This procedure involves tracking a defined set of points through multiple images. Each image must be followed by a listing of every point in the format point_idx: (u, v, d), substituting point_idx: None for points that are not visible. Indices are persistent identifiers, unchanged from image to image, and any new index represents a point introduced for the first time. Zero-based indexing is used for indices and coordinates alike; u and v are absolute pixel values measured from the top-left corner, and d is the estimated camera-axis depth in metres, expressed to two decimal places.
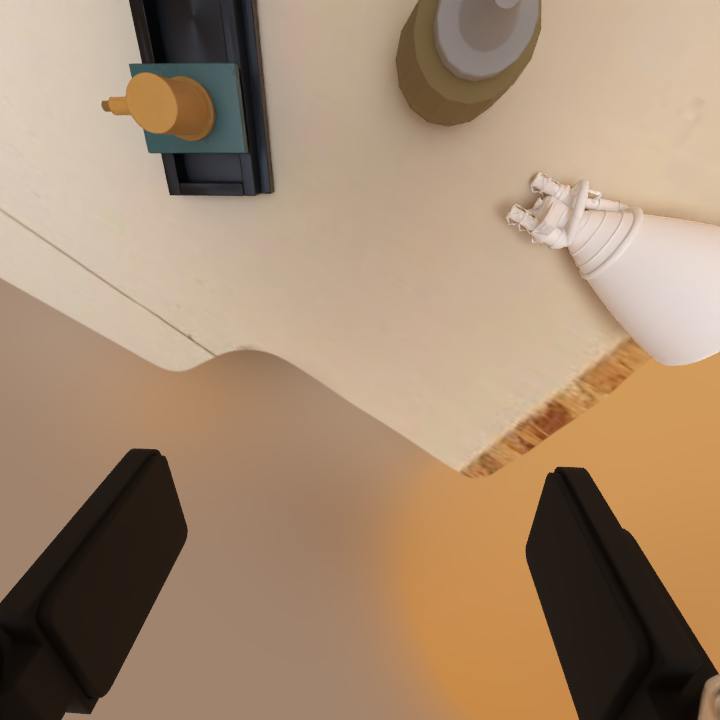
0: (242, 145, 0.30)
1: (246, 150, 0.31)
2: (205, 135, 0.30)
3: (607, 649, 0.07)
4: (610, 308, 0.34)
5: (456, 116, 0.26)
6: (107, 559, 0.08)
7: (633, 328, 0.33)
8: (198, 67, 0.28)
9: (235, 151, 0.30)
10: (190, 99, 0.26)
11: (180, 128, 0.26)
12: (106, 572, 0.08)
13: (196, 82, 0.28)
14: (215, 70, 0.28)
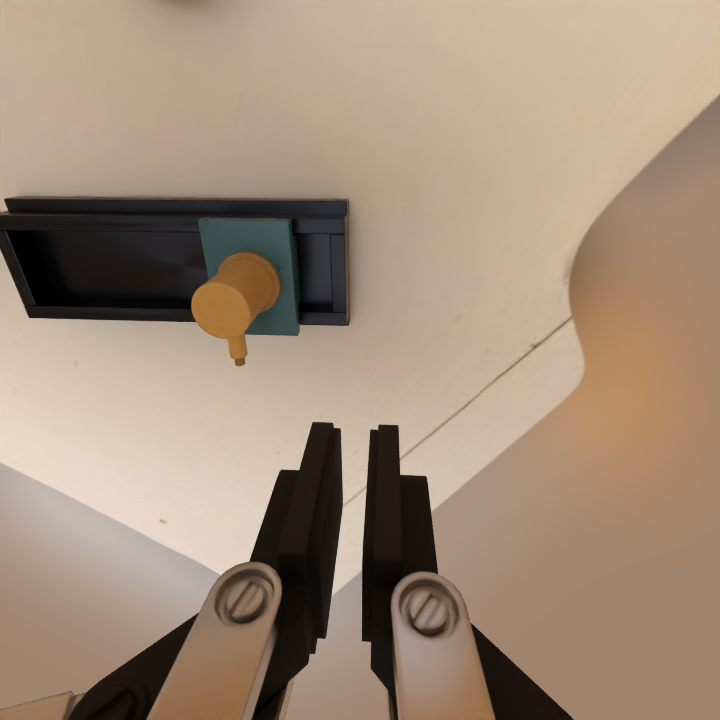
0: (280, 222, 0.24)
1: (286, 219, 0.24)
2: (271, 266, 0.25)
3: None
4: None
5: None
6: (328, 515, 0.09)
7: None
8: (208, 262, 0.26)
9: (287, 233, 0.24)
10: (223, 271, 0.23)
11: (248, 287, 0.22)
12: (328, 527, 0.08)
13: (220, 266, 0.25)
14: (208, 243, 0.25)
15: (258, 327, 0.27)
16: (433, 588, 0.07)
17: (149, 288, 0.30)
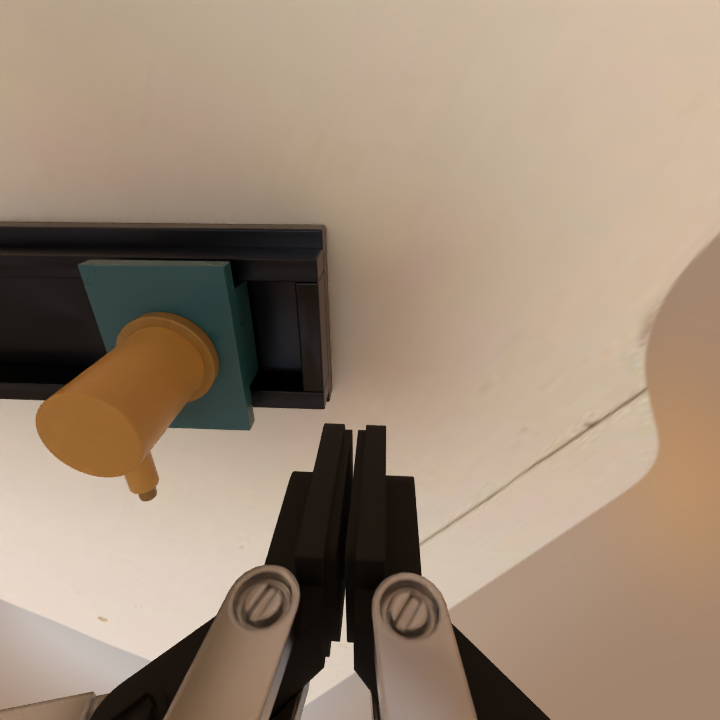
0: (210, 270, 0.15)
1: (221, 264, 0.15)
2: (200, 337, 0.16)
3: None
4: None
5: None
6: (343, 517, 0.08)
7: None
8: (103, 327, 0.16)
9: (223, 286, 0.15)
10: (106, 357, 0.13)
11: (143, 389, 0.13)
12: (342, 529, 0.08)
13: (119, 336, 0.16)
14: (99, 300, 0.16)
15: (190, 418, 0.18)
16: (414, 589, 0.07)
17: (41, 350, 0.21)
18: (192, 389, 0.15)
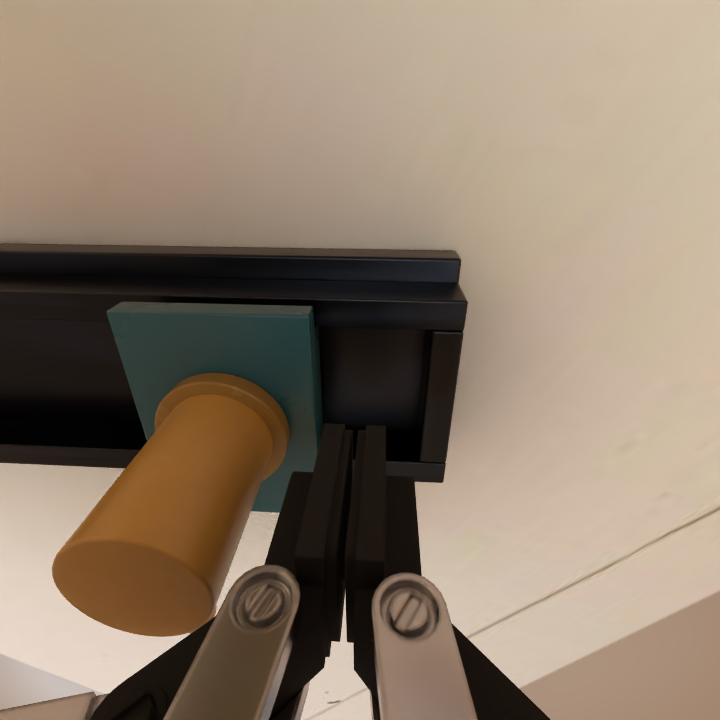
0: (289, 319, 0.11)
1: (304, 310, 0.11)
2: (270, 408, 0.12)
3: None
4: None
5: None
6: (343, 517, 0.08)
7: None
8: (138, 391, 0.12)
9: (305, 341, 0.11)
10: (152, 454, 0.09)
11: (210, 511, 0.08)
12: (342, 529, 0.08)
13: (160, 405, 0.12)
14: (134, 357, 0.12)
15: None
16: (413, 588, 0.07)
17: (81, 401, 0.17)
18: (261, 480, 0.11)
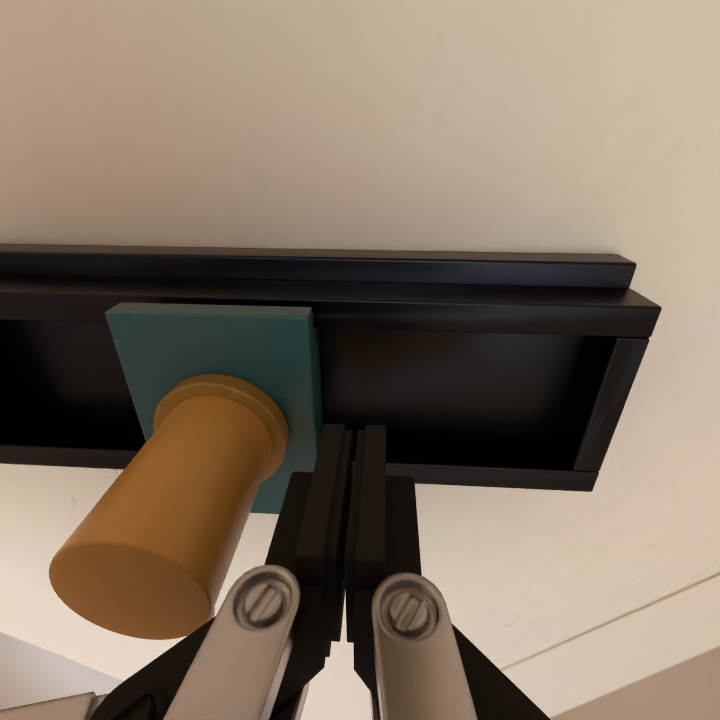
0: (288, 321, 0.11)
1: (303, 312, 0.11)
2: (269, 409, 0.11)
3: None
4: None
5: None
6: (342, 517, 0.08)
7: None
8: (137, 392, 0.12)
9: (305, 342, 0.11)
10: (151, 455, 0.09)
11: (208, 513, 0.08)
12: (342, 529, 0.08)
13: (159, 407, 0.12)
14: (133, 358, 0.12)
15: None
16: (413, 589, 0.07)
17: None
18: (260, 482, 0.11)
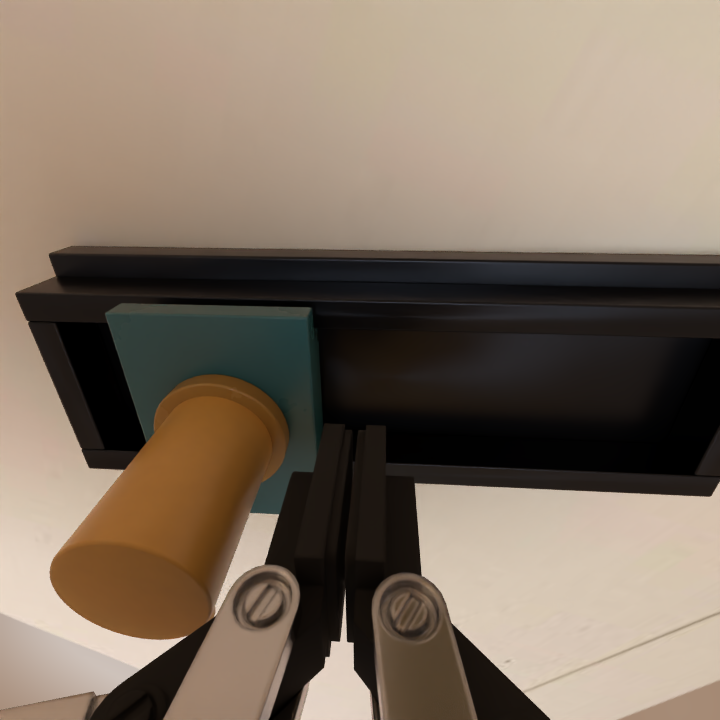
0: (288, 321, 0.11)
1: (303, 312, 0.11)
2: (269, 410, 0.12)
3: None
4: None
5: None
6: (343, 518, 0.08)
7: None
8: (137, 392, 0.12)
9: (305, 342, 0.11)
10: (151, 456, 0.09)
11: (208, 513, 0.08)
12: (342, 529, 0.08)
13: (159, 407, 0.12)
14: (133, 359, 0.12)
15: None
16: (414, 588, 0.07)
17: None
18: (260, 483, 0.11)
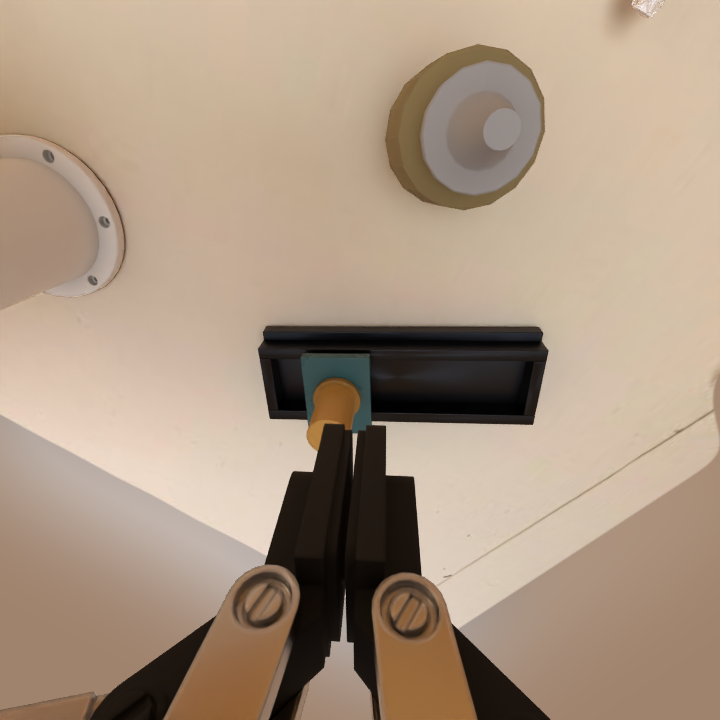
0: (363, 359, 0.32)
1: (367, 356, 0.32)
2: (355, 389, 0.33)
3: None
4: None
5: None
6: (343, 518, 0.08)
7: None
8: (306, 384, 0.34)
9: (368, 366, 0.32)
10: (325, 402, 0.31)
11: (346, 416, 0.30)
12: (342, 529, 0.08)
13: (316, 389, 0.33)
14: (307, 372, 0.33)
15: None
16: (413, 588, 0.07)
17: None
18: None
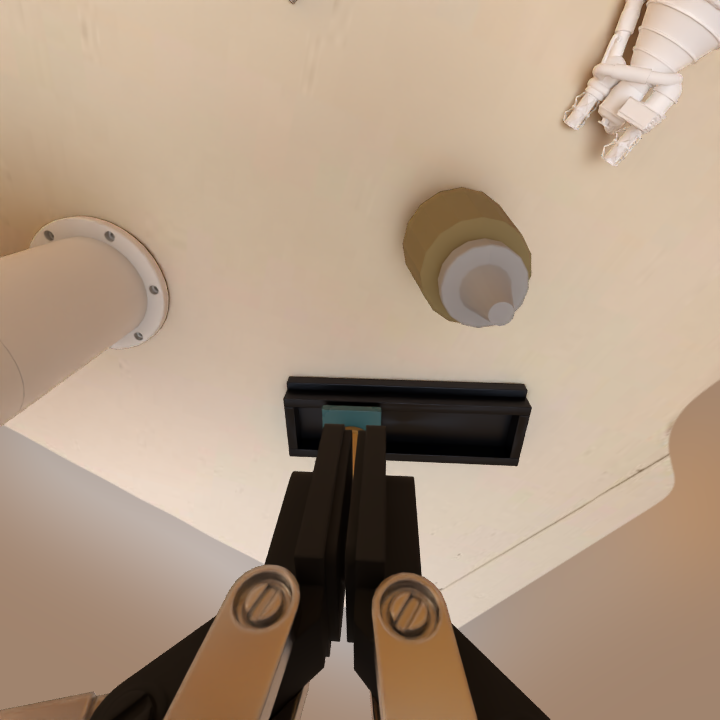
0: (375, 412, 0.38)
1: (379, 409, 0.38)
2: None
3: None
4: None
5: None
6: (343, 518, 0.08)
7: None
8: None
9: (379, 418, 0.38)
10: None
11: None
12: (342, 529, 0.08)
13: None
14: (327, 421, 0.38)
15: None
16: (414, 589, 0.07)
17: None
18: None
